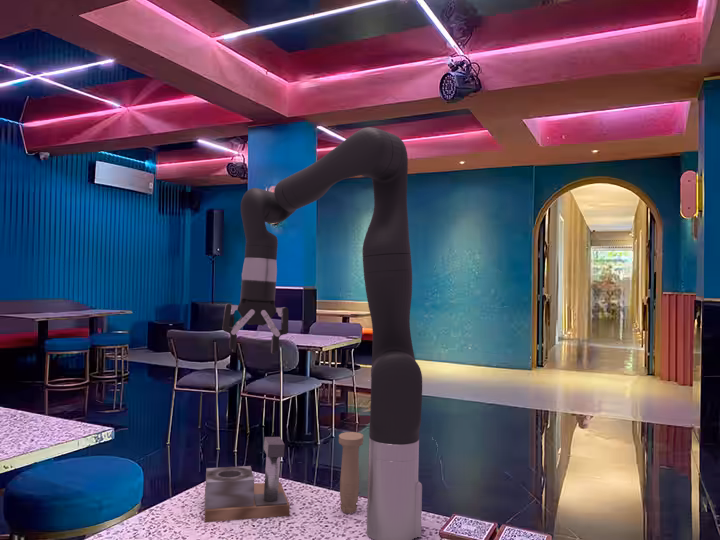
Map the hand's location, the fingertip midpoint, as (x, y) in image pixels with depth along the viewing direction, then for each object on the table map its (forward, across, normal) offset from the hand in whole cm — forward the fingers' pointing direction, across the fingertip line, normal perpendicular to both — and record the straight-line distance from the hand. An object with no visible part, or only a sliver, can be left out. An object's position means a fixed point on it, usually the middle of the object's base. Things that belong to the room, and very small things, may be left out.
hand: (253, 352), depth 122 cm
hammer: (+28, +4, -12) cm, 30 cm away
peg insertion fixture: (+30, 0, -8) cm, 31 cm away
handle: (+30, +20, -15) cm, 39 cm away
